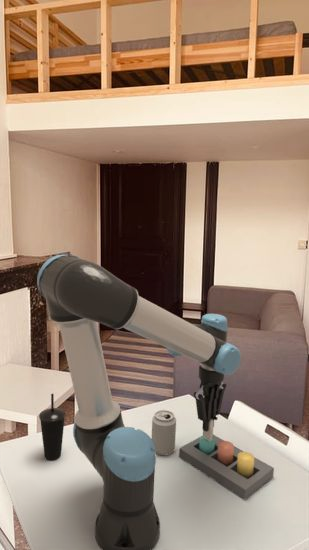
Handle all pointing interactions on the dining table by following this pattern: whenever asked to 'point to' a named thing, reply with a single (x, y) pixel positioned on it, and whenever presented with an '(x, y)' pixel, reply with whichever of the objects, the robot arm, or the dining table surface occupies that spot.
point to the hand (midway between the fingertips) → (207, 438)
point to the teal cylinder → (206, 445)
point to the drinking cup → (52, 431)
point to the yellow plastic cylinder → (245, 464)
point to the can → (164, 432)
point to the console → (226, 469)
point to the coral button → (225, 453)
